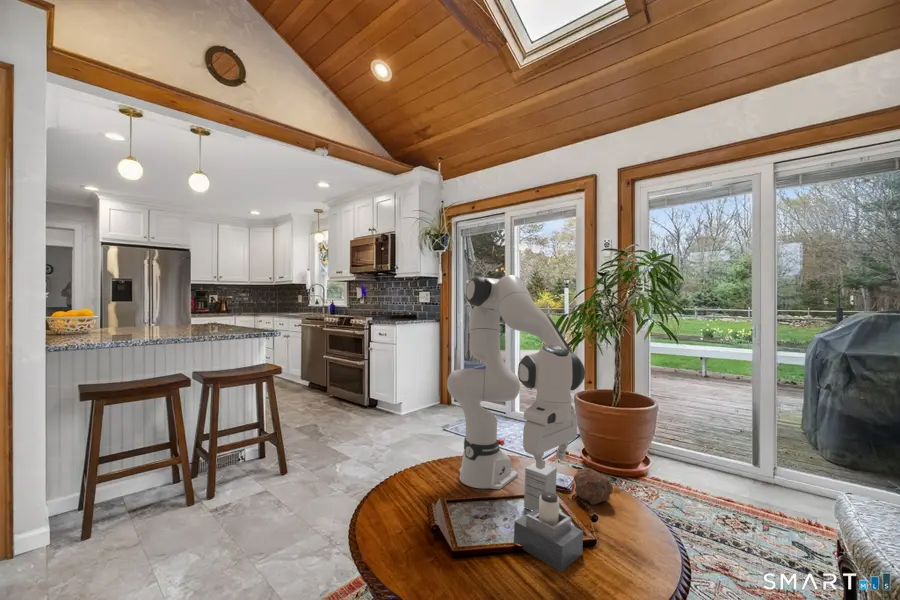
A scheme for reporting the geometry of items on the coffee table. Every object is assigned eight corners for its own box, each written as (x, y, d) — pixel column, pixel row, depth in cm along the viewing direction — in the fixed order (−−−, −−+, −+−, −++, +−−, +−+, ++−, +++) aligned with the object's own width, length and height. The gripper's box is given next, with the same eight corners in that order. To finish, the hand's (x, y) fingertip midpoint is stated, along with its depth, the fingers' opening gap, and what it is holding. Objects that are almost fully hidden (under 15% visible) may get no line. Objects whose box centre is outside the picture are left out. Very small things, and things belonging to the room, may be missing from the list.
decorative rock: (618, 511, 123) (619, 478, 123) (582, 510, 122) (584, 478, 122) (599, 490, 136) (600, 461, 136) (567, 490, 135) (568, 461, 135)
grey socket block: (541, 526, 112) (542, 496, 113) (587, 549, 102) (589, 517, 102) (513, 544, 104) (514, 511, 104) (561, 572, 93) (562, 536, 93)
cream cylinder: (545, 518, 106) (546, 489, 106) (562, 526, 102) (563, 496, 102) (534, 525, 102) (535, 494, 102) (551, 534, 98) (552, 502, 98)
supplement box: (534, 499, 128) (535, 460, 128) (555, 508, 123) (557, 467, 123) (522, 508, 122) (524, 467, 122) (545, 517, 117) (546, 474, 117)
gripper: (563, 400, 111) (561, 449, 112) (519, 413, 97) (517, 469, 97) (584, 405, 107) (581, 456, 107) (541, 420, 93) (538, 478, 93)
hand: (550, 463), depth 102 cm, fingers open, 8 cm apart
